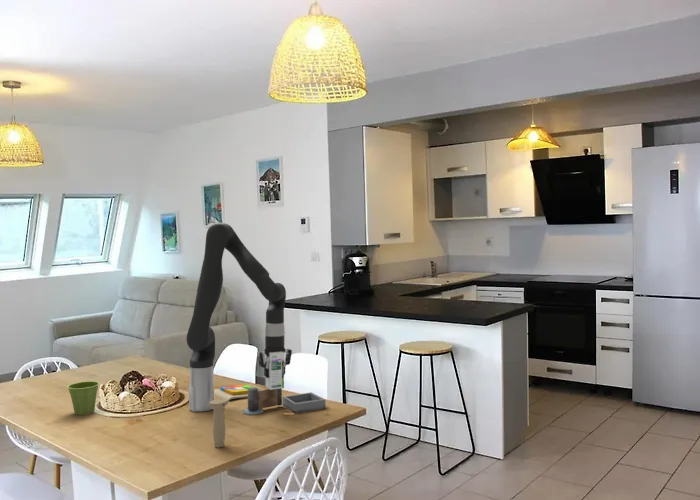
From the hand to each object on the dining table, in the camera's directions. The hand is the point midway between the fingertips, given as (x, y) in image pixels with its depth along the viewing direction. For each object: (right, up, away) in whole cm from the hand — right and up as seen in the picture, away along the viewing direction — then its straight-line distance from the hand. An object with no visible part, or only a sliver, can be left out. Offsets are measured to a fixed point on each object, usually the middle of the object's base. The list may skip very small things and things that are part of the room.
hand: (274, 376), depth 241 cm
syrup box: (0, -5, 0) cm, 5 cm away
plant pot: (-76, -15, +2) cm, 77 cm away
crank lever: (-4, -13, +3) cm, 14 cm away
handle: (-13, -15, -38) cm, 43 cm away
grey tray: (+11, -13, +6) cm, 18 cm away
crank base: (-3, -14, -2) cm, 14 cm away
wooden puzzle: (-19, -14, +27) cm, 36 cm away
